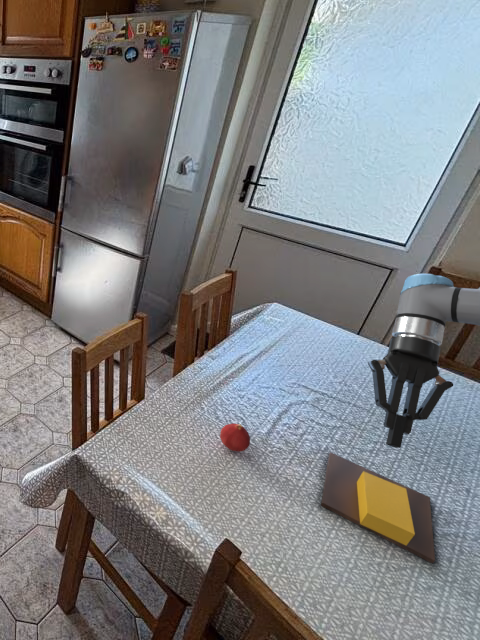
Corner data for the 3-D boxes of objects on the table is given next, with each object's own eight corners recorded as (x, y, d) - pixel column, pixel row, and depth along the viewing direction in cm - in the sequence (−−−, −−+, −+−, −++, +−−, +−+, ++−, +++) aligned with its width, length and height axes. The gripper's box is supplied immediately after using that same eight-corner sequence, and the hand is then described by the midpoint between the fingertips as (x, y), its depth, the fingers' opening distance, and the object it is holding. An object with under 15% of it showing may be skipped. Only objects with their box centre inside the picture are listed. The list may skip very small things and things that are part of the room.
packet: (406, 488, 82) (415, 534, 74) (398, 499, 84) (406, 545, 76) (363, 470, 86) (367, 512, 78) (356, 482, 87) (360, 524, 80)
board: (427, 500, 84) (429, 497, 84) (432, 564, 74) (435, 560, 74) (328, 454, 94) (330, 451, 94) (320, 505, 84) (322, 502, 83)
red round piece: (218, 434, 100) (226, 410, 97) (246, 445, 97) (255, 421, 93) (215, 451, 96) (223, 426, 92) (244, 463, 93) (254, 439, 89)
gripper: (449, 356, 90) (428, 461, 85) (370, 334, 97) (347, 431, 93) (468, 349, 84) (446, 462, 79) (381, 327, 91) (357, 430, 86)
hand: (393, 445), depth 86 cm, fingers closed
